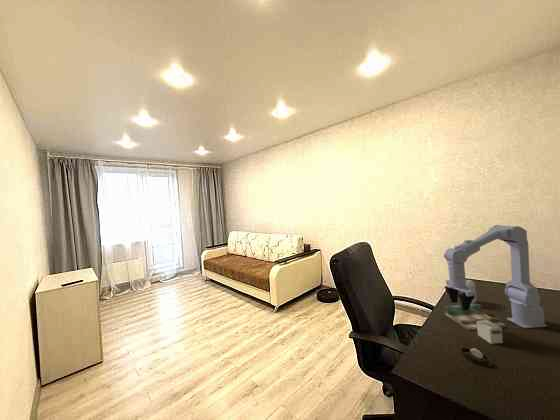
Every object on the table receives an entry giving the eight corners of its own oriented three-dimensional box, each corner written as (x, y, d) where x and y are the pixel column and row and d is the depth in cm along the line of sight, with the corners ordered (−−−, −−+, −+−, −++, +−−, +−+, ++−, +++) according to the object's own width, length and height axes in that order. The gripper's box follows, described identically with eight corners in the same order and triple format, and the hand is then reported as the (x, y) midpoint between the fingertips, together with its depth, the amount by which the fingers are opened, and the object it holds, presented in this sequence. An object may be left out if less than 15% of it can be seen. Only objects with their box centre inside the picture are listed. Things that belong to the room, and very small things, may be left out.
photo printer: (468, 299, 125) (466, 277, 125) (478, 301, 121) (475, 279, 121) (461, 305, 119) (459, 282, 119) (471, 307, 116) (469, 284, 116)
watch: (491, 363, 77) (490, 352, 77) (487, 369, 75) (486, 358, 75) (464, 352, 84) (463, 342, 84) (459, 357, 81) (458, 347, 81)
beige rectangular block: (488, 334, 93) (487, 320, 93) (504, 343, 86) (502, 328, 86) (477, 335, 93) (476, 321, 93) (492, 344, 86) (490, 329, 86)
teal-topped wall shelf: (478, 312, 110) (477, 303, 110) (505, 327, 96) (504, 316, 96) (445, 314, 111) (444, 305, 111) (468, 329, 97) (467, 319, 97)
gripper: (438, 271, 106) (440, 299, 106) (458, 281, 92) (461, 314, 92) (453, 270, 105) (456, 299, 105) (476, 280, 91) (480, 313, 91)
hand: (460, 306), depth 98 cm, fingers open, 7 cm apart
